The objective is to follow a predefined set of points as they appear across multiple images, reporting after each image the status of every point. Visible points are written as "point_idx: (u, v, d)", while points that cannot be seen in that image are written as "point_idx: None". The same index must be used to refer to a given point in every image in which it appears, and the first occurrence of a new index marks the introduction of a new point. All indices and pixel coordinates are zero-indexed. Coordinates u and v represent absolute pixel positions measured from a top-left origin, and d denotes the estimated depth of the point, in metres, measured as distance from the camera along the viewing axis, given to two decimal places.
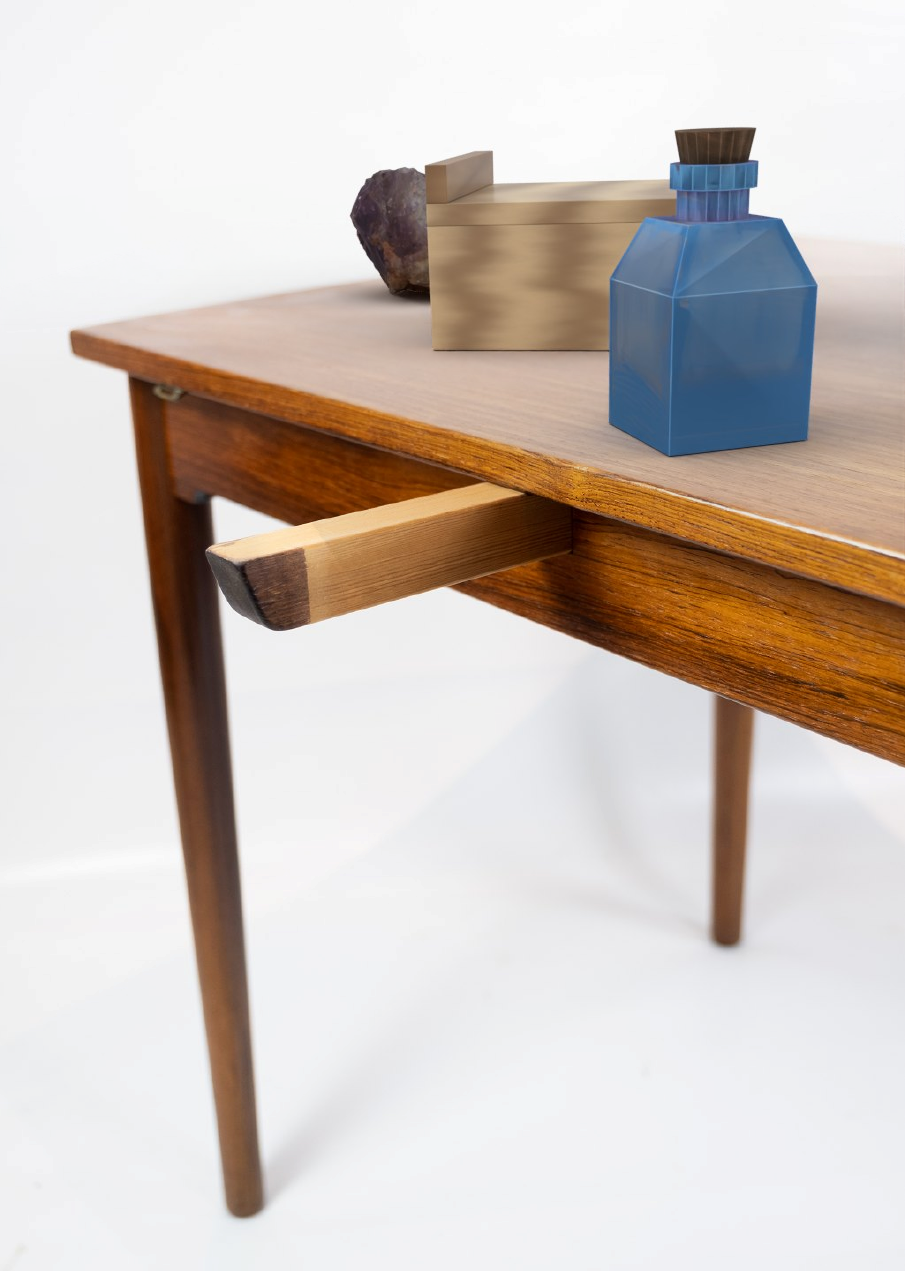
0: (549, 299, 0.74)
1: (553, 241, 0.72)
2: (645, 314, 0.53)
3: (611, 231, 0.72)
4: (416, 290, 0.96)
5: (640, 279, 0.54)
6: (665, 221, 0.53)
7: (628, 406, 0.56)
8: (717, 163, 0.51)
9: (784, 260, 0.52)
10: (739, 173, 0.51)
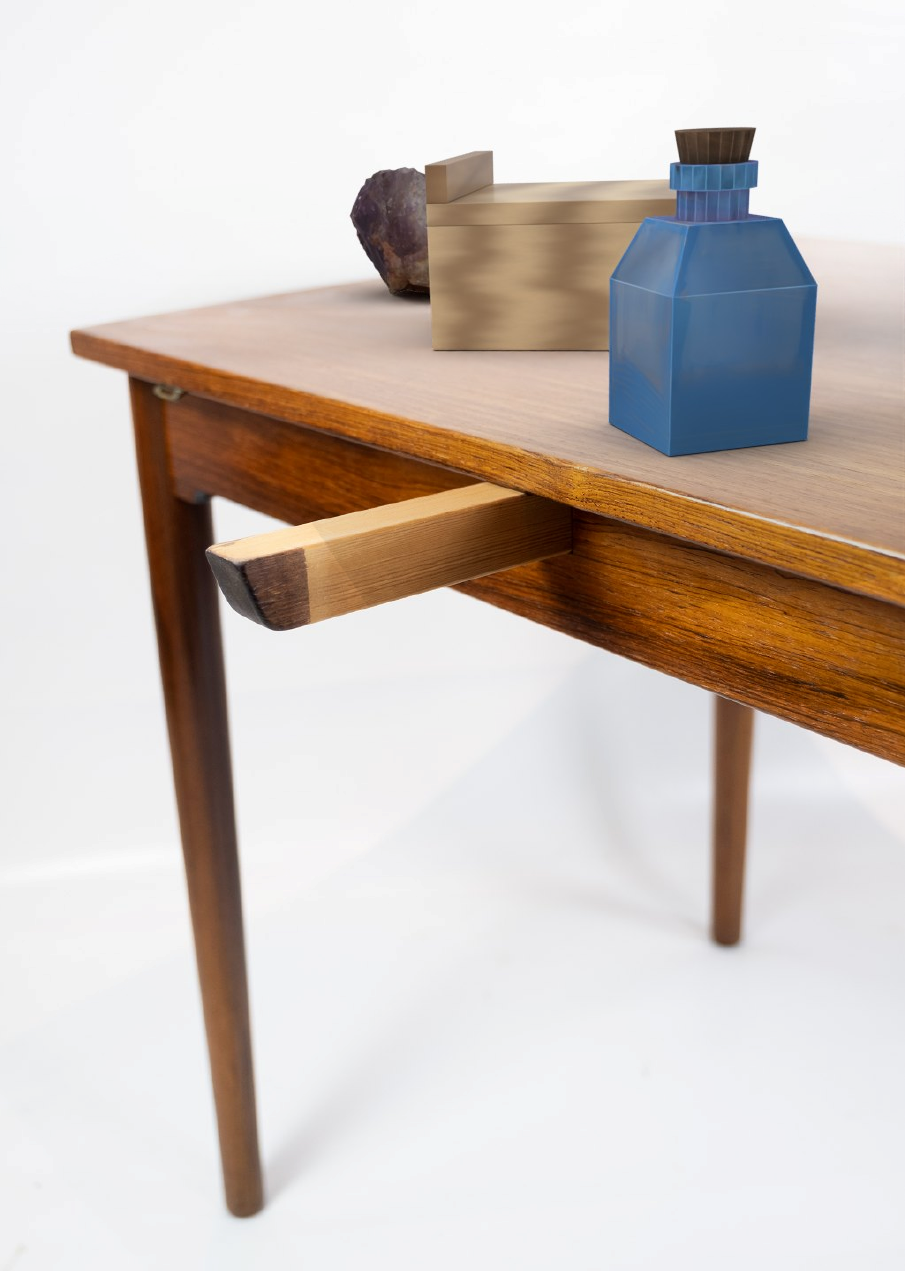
0: (549, 299, 0.74)
1: (553, 241, 0.72)
2: (645, 314, 0.53)
3: (611, 231, 0.72)
4: (416, 290, 0.96)
5: (640, 278, 0.54)
6: (665, 221, 0.53)
7: (628, 406, 0.56)
8: (717, 163, 0.51)
9: (784, 260, 0.52)
10: (739, 173, 0.51)
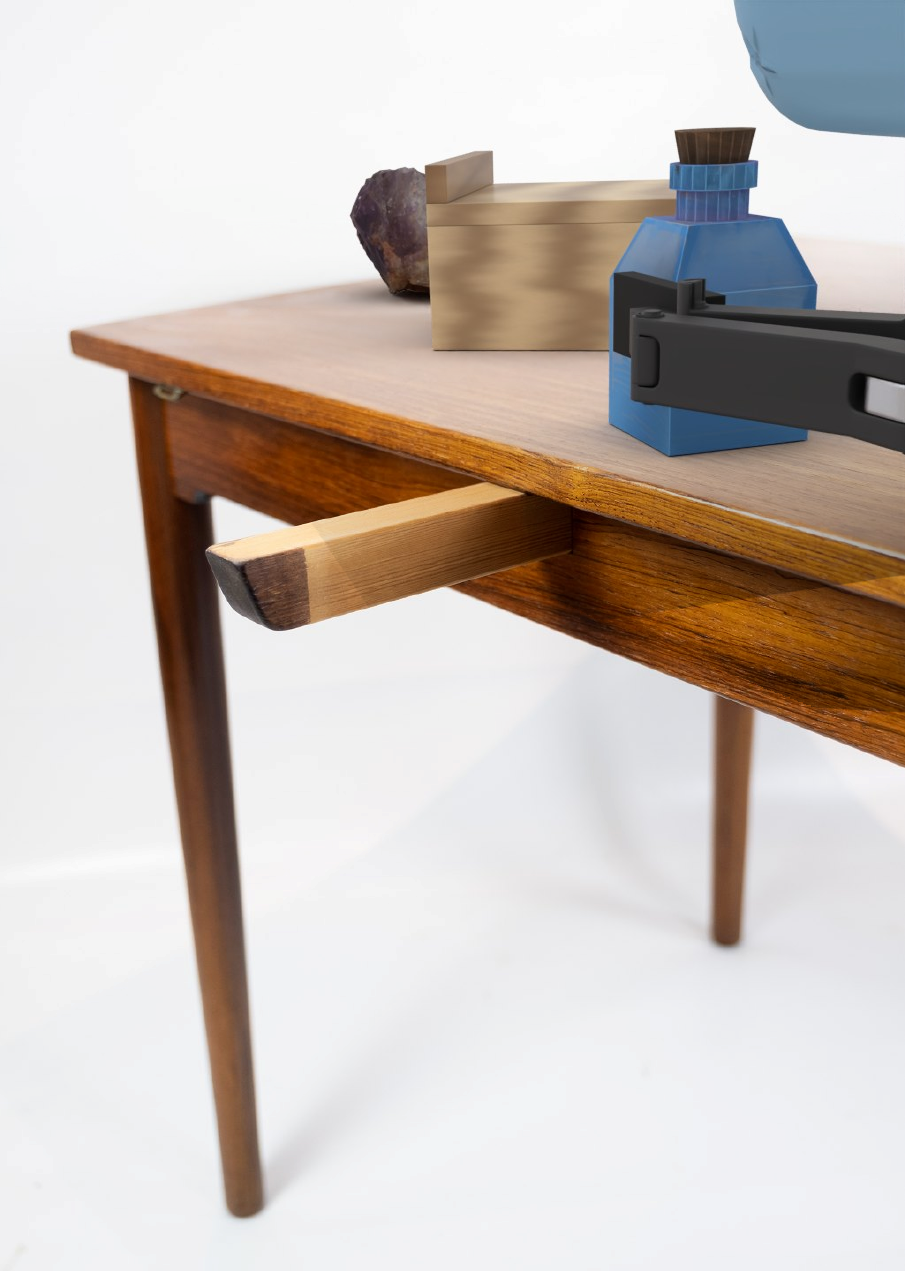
0: (549, 299, 0.74)
1: (553, 241, 0.72)
2: None
3: (611, 231, 0.72)
4: (416, 290, 0.96)
5: None
6: (665, 221, 0.53)
7: (628, 406, 0.56)
8: (717, 163, 0.51)
9: (784, 260, 0.52)
10: (739, 173, 0.51)
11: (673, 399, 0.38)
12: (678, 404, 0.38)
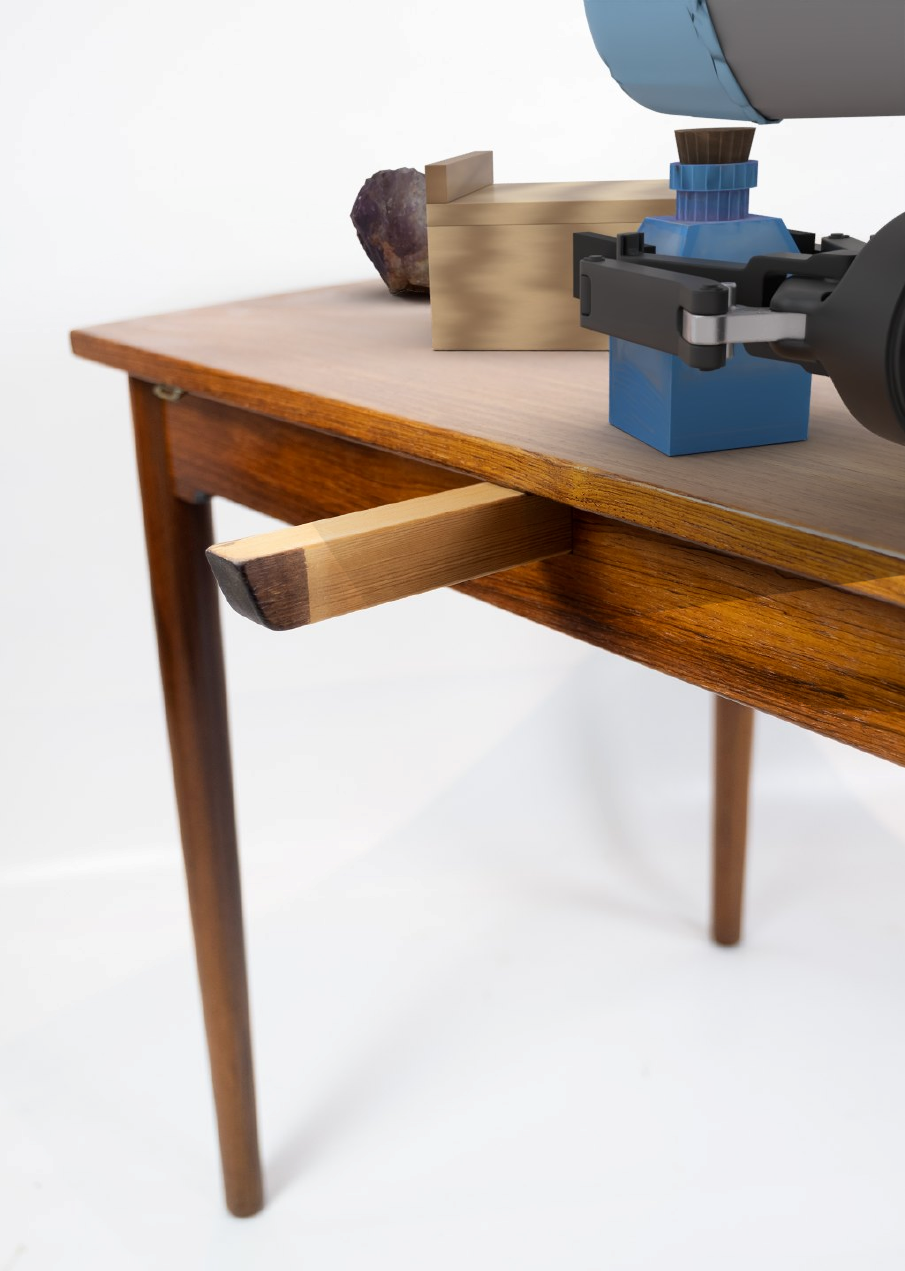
0: (549, 299, 0.74)
1: (553, 241, 0.72)
2: None
3: (611, 231, 0.72)
4: (416, 290, 0.96)
5: None
6: (665, 221, 0.53)
7: (628, 406, 0.56)
8: (717, 163, 0.51)
9: None
10: (739, 173, 0.51)
11: (597, 325, 0.49)
12: (599, 329, 0.49)
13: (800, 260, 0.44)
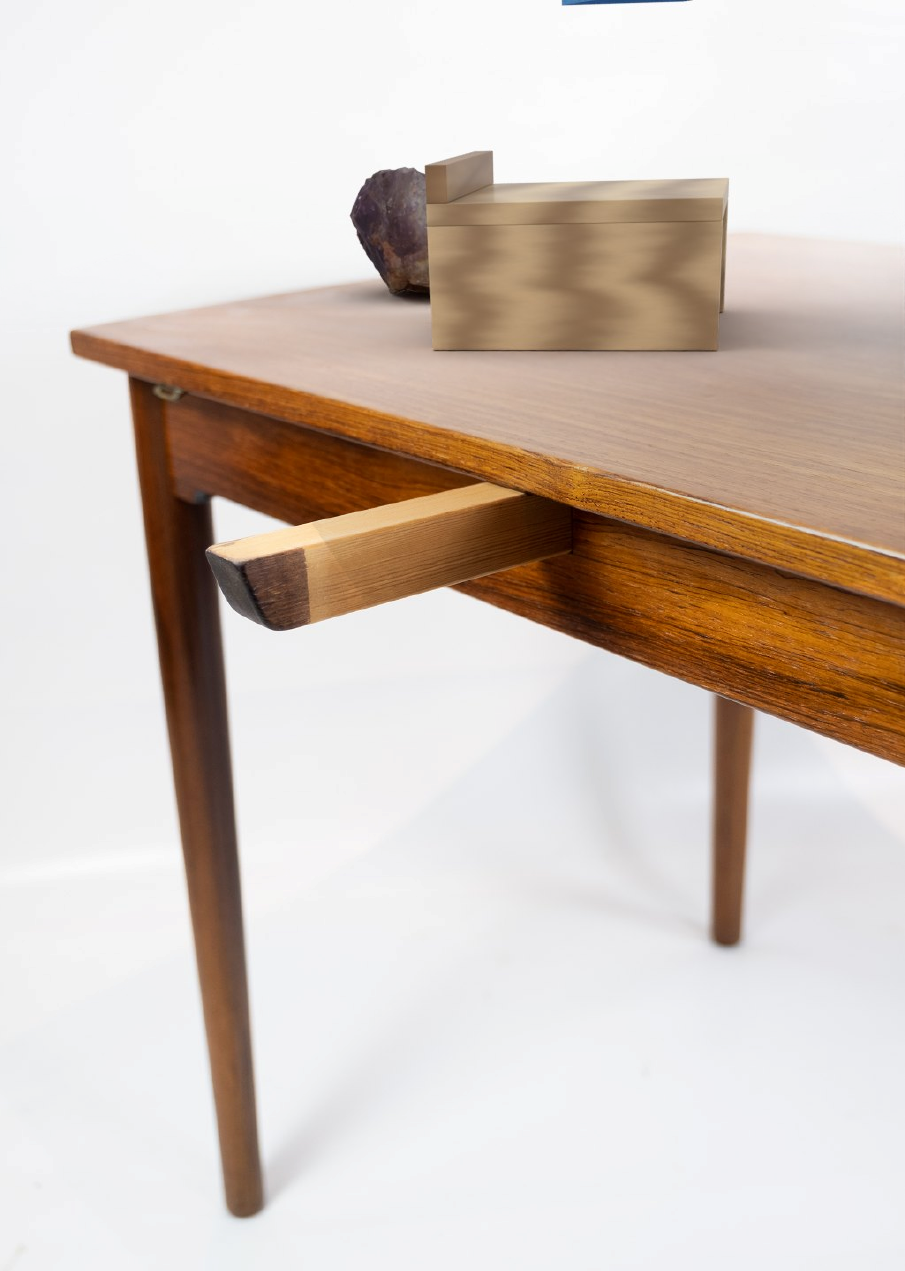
0: (549, 299, 0.74)
1: (553, 241, 0.72)
2: None
3: (611, 231, 0.72)
4: (416, 290, 0.96)
5: None
6: None
7: None
8: None
9: None
10: None
11: None
12: None
13: None
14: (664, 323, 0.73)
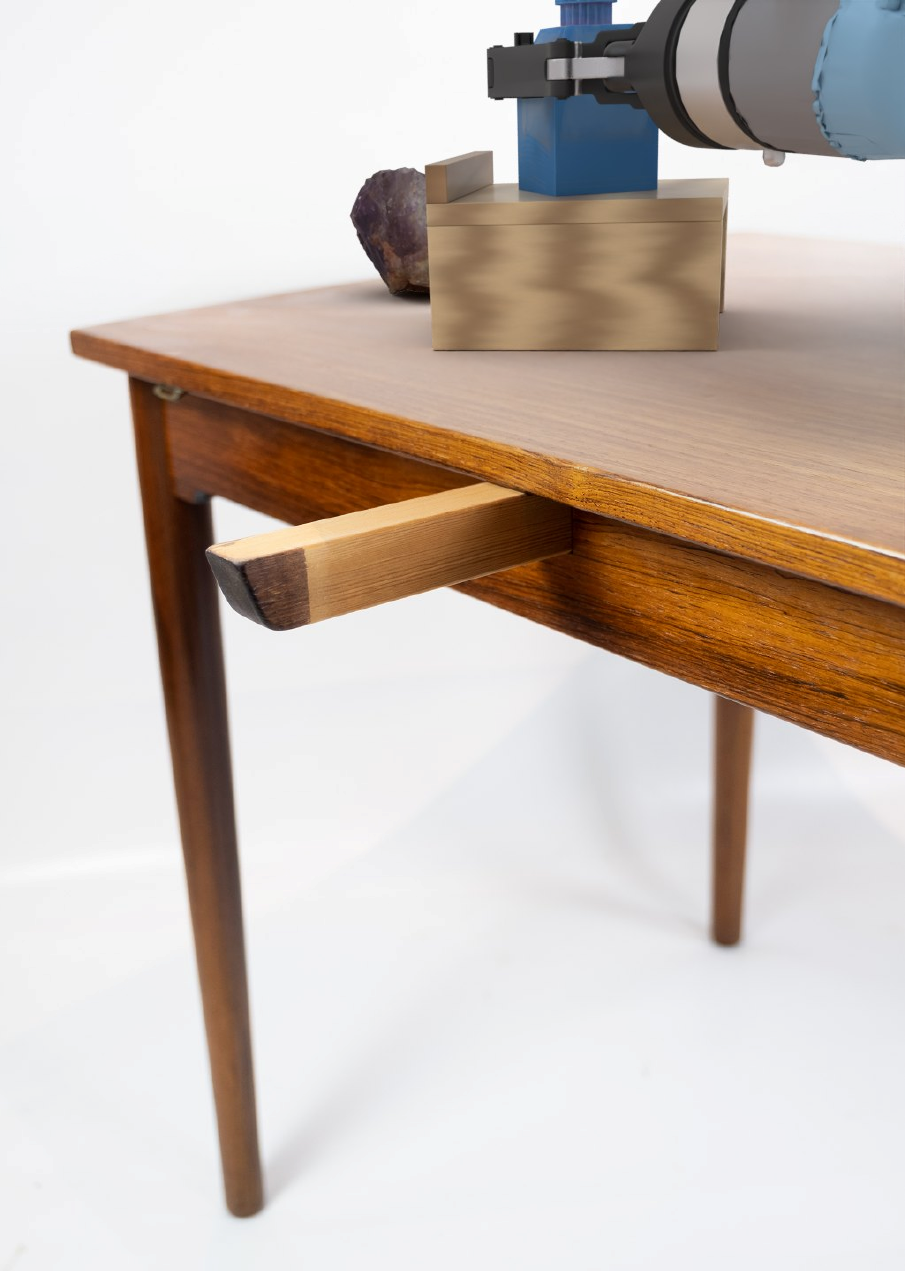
0: (549, 299, 0.74)
1: (553, 241, 0.72)
2: None
3: (611, 231, 0.72)
4: (416, 290, 0.96)
5: None
6: (552, 28, 0.74)
7: (530, 171, 0.77)
8: None
9: None
10: None
11: (498, 92, 0.70)
12: (499, 95, 0.70)
13: (627, 29, 0.65)
14: (664, 323, 0.73)
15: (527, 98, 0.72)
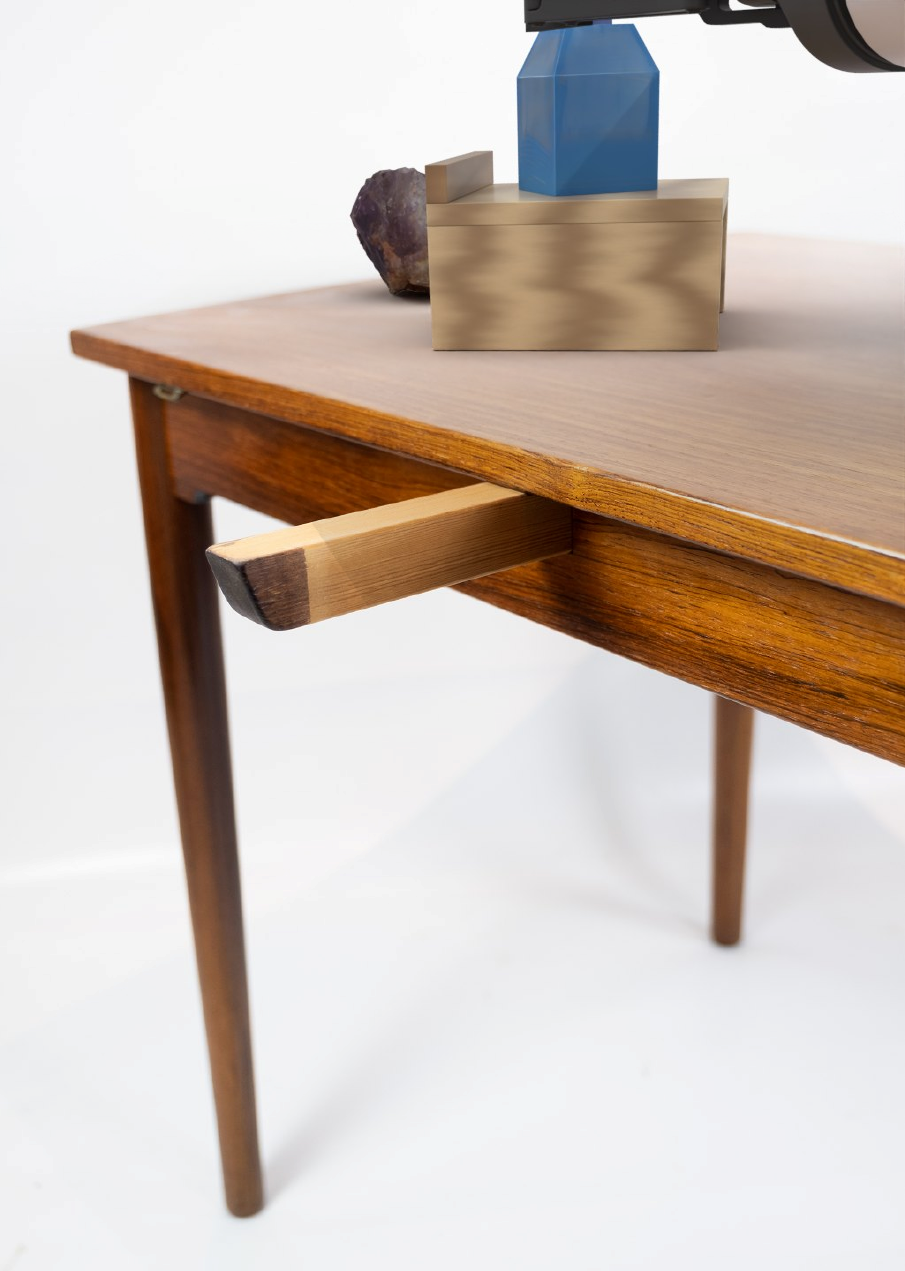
0: (549, 299, 0.74)
1: (553, 241, 0.72)
2: (538, 95, 0.74)
3: (611, 231, 0.72)
4: (416, 290, 0.96)
5: (535, 71, 0.75)
6: None
7: (530, 171, 0.77)
8: None
9: (635, 53, 0.73)
10: None
11: (550, 14, 0.56)
12: (554, 17, 0.56)
13: None
14: (664, 323, 0.73)
15: (575, 24, 0.58)
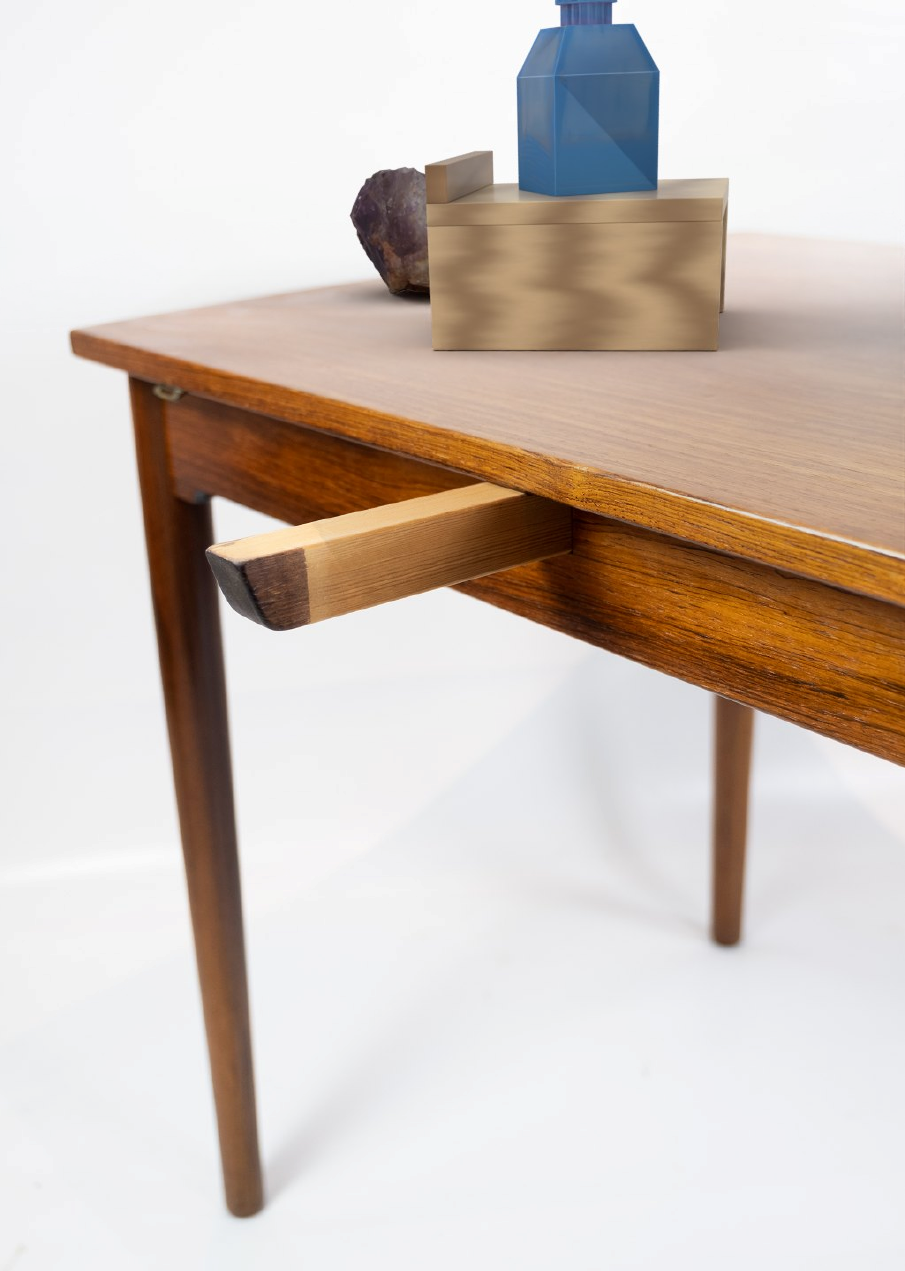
0: (549, 299, 0.74)
1: (553, 241, 0.72)
2: (538, 95, 0.74)
3: (611, 231, 0.72)
4: (416, 290, 0.96)
5: (535, 71, 0.75)
6: (552, 28, 0.74)
7: (530, 171, 0.77)
8: None
9: (635, 53, 0.73)
10: None
11: None
12: None
13: None
14: (664, 323, 0.73)
15: None
